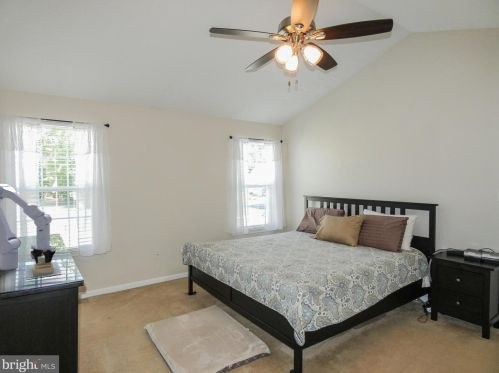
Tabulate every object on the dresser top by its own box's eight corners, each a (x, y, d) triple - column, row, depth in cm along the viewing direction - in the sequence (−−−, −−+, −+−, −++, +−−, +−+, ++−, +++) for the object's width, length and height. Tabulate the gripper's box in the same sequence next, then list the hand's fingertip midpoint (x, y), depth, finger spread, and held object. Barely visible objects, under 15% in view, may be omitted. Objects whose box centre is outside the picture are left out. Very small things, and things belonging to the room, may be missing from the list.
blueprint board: (25, 267, 156) (25, 259, 156) (57, 263, 164) (57, 255, 164) (25, 280, 137) (25, 271, 137) (61, 274, 145) (61, 266, 145)
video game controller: (50, 259, 179) (48, 247, 181) (52, 256, 176) (50, 245, 178) (30, 262, 171) (28, 250, 173) (32, 260, 169) (31, 248, 171)
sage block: (37, 265, 156) (37, 256, 156) (48, 264, 159) (48, 255, 159) (38, 268, 152) (38, 258, 152) (48, 266, 155) (48, 257, 155)
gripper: (25, 238, 154) (25, 264, 154) (46, 240, 149) (46, 267, 149) (38, 236, 160) (38, 261, 161) (59, 237, 156) (59, 263, 156)
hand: (43, 263), depth 155 cm, fingers closed on sage block, 6 cm apart
